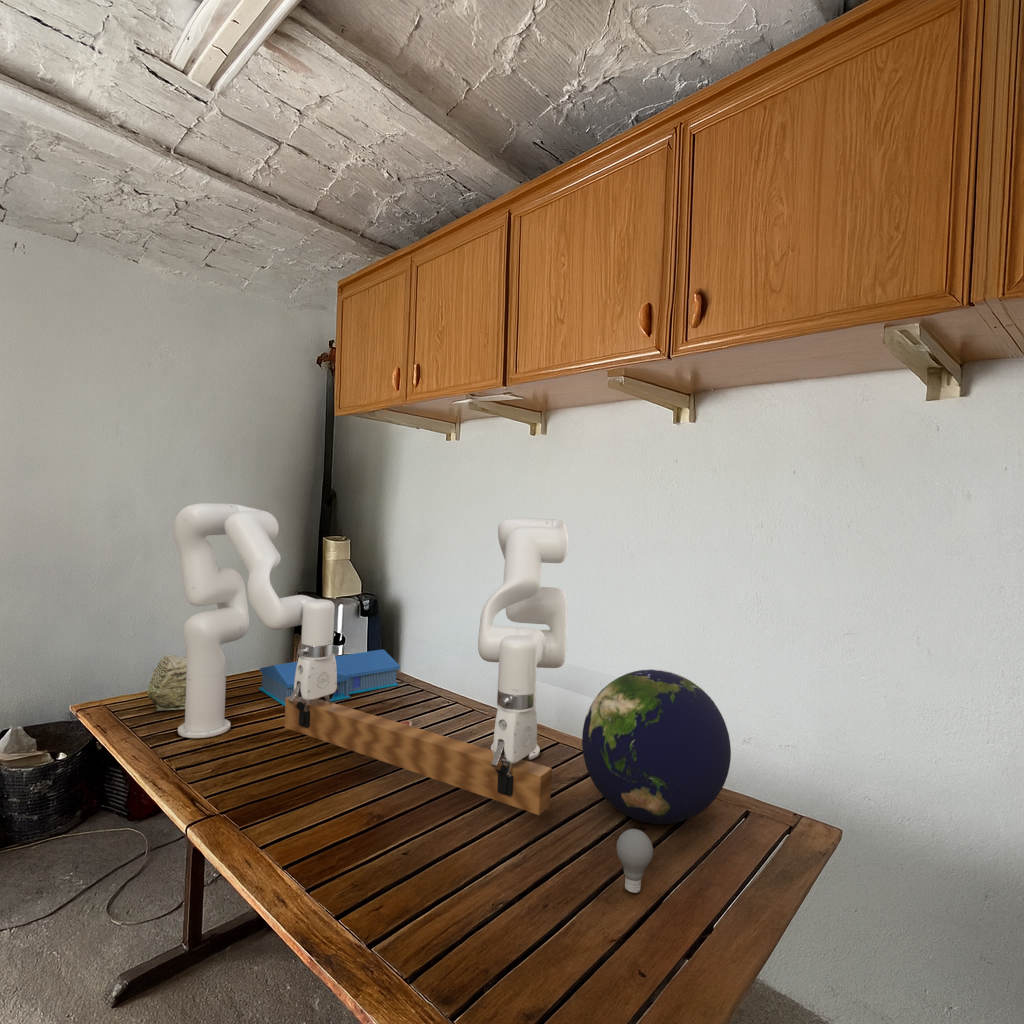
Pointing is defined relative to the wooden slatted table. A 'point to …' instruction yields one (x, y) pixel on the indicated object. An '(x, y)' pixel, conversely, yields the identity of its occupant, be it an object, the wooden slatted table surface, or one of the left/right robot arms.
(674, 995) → the wooden slatted table surface
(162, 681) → the fossil
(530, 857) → the wooden slatted table surface
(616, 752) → the globe
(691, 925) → the wooden slatted table surface
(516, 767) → the bar
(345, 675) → the model building
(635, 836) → the light bulb
